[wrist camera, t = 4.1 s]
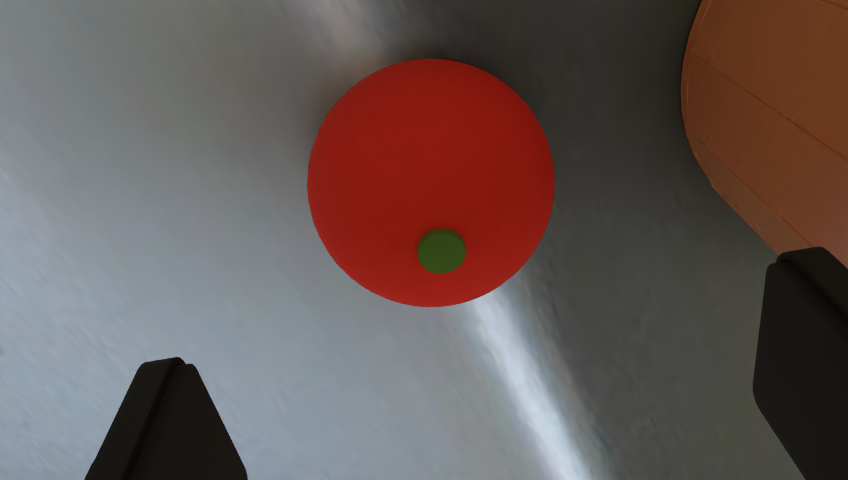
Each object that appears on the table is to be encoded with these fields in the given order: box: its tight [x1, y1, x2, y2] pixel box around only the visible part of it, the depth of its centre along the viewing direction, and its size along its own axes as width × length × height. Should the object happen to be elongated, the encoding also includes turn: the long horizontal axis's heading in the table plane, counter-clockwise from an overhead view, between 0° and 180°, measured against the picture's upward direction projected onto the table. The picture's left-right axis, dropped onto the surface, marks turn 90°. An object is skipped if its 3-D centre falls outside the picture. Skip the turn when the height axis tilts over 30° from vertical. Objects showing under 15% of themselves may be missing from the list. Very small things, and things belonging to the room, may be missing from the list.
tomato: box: [307, 59, 554, 307], centre depth 16 cm, size 6×6×6 cm
